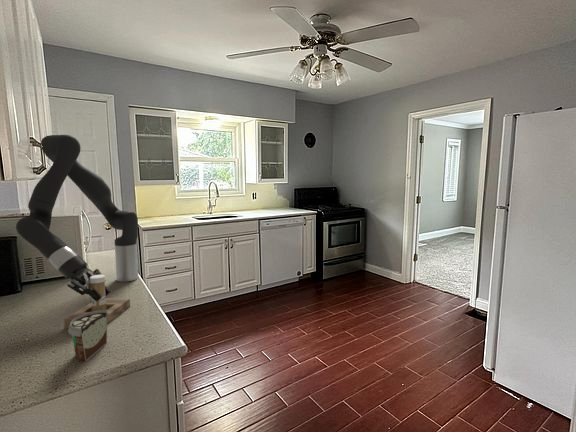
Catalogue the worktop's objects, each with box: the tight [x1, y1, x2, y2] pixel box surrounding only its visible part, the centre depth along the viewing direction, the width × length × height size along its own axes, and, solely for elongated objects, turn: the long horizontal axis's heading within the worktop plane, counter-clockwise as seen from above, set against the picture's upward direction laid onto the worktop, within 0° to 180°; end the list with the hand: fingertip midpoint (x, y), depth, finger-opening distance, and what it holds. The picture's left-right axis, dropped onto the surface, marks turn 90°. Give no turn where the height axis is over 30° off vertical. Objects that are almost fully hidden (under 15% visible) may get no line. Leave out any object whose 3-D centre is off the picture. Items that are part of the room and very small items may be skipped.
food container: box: [67, 310, 108, 363], centre depth 87 cm, size 12×6×10 cm, turn 178°
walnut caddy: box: [63, 297, 131, 329], centre depth 110 cm, size 18×12×3 cm, turn 179°
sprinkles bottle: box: [90, 274, 107, 312], centre depth 109 cm, size 5×5×14 cm
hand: (103, 296), depth 109 cm, fingers closed on sprinkles bottle, 4 cm apart
